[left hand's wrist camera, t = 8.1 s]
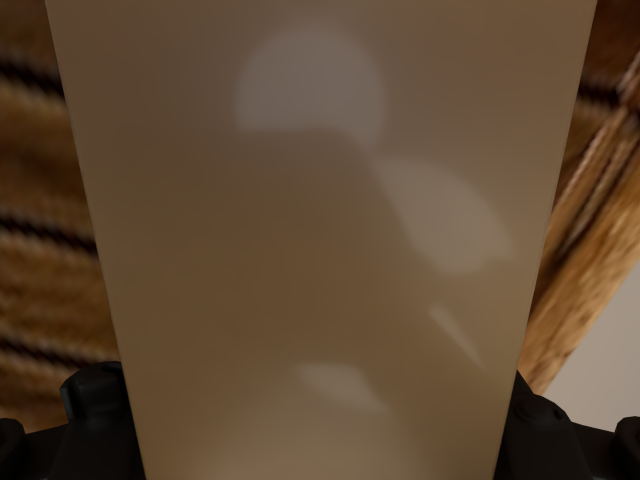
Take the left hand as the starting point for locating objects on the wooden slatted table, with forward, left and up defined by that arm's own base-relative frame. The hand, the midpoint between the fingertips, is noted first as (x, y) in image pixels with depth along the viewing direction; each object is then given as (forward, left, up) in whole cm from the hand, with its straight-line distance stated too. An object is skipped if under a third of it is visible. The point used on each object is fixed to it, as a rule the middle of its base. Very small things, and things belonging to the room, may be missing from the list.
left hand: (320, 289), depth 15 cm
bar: (-2, +7, -1) cm, 7 cm away
